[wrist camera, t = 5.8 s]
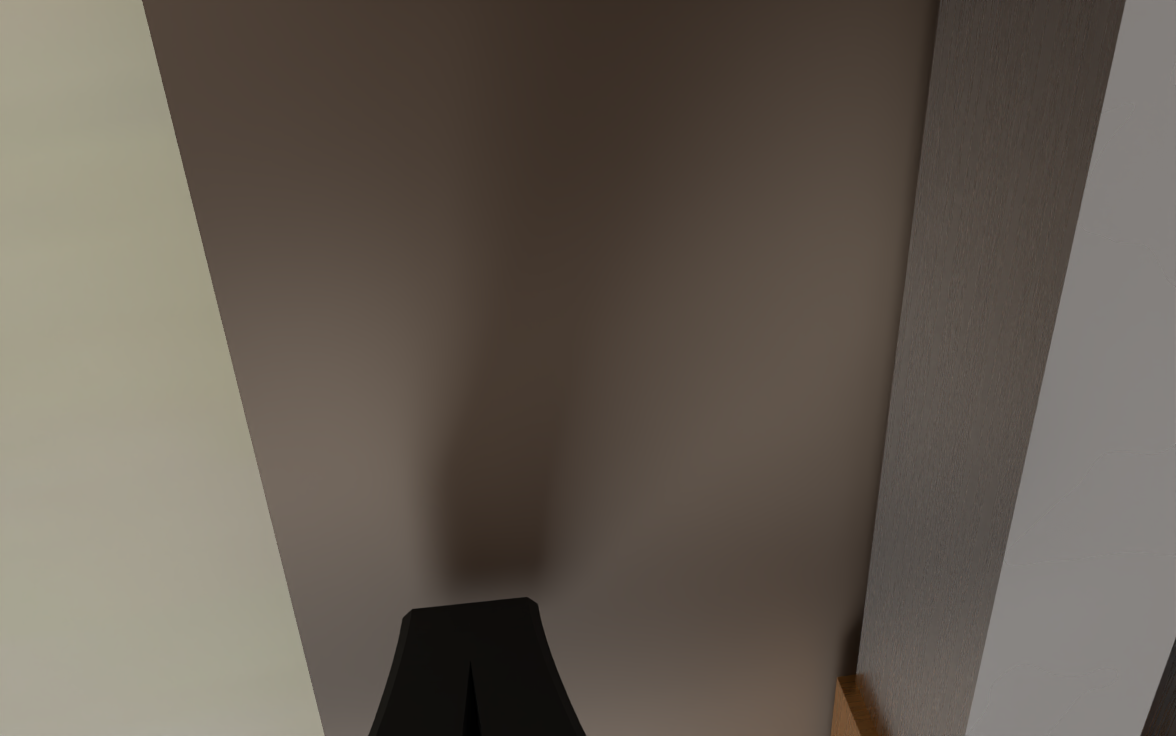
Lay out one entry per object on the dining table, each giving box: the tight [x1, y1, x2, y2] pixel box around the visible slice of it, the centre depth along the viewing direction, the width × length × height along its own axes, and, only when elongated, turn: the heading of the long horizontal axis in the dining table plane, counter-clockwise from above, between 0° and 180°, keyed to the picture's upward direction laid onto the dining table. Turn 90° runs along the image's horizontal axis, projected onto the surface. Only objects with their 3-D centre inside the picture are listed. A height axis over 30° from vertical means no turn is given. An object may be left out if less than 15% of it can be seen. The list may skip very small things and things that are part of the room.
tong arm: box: [831, 0, 1176, 736], centre depth 12 cm, size 26×4×3 cm, turn 3°
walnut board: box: [142, 0, 940, 736], centre depth 14 cm, size 28×18×1 cm, turn 1°
